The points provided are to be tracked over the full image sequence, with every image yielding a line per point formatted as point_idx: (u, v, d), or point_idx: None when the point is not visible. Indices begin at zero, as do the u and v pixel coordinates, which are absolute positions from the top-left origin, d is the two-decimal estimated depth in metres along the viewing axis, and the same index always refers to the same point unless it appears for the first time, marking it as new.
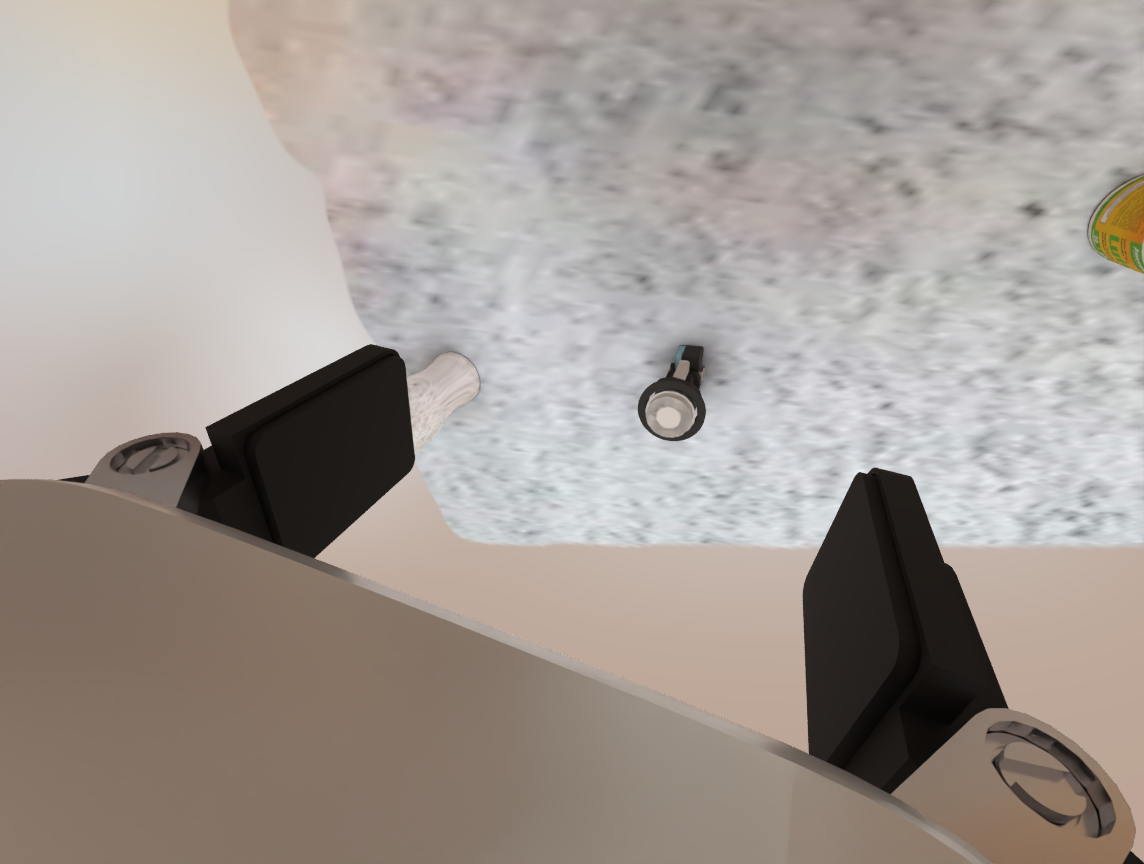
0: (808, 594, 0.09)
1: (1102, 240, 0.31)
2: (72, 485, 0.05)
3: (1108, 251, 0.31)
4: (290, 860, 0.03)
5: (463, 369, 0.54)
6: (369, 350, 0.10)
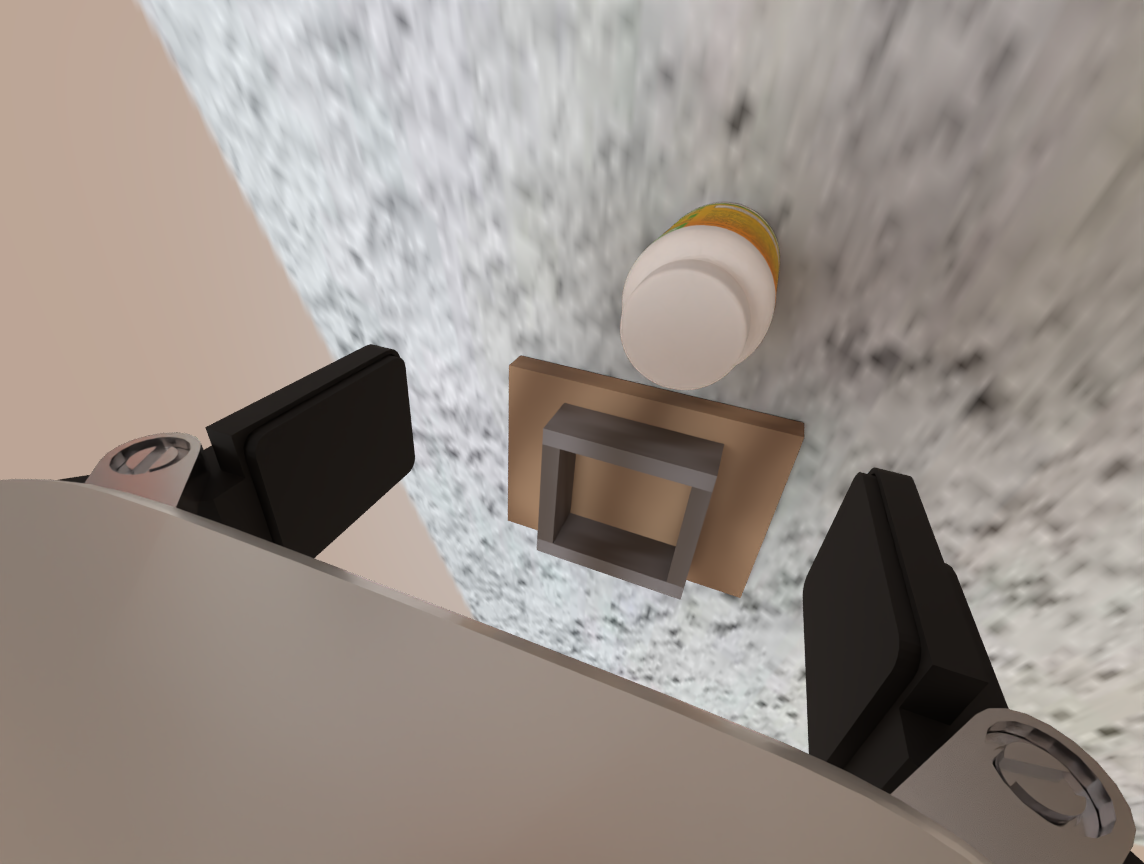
0: (808, 594, 0.09)
1: (689, 214, 0.21)
2: (71, 485, 0.05)
3: (673, 225, 0.21)
4: (289, 860, 0.03)
5: None
6: (369, 350, 0.10)
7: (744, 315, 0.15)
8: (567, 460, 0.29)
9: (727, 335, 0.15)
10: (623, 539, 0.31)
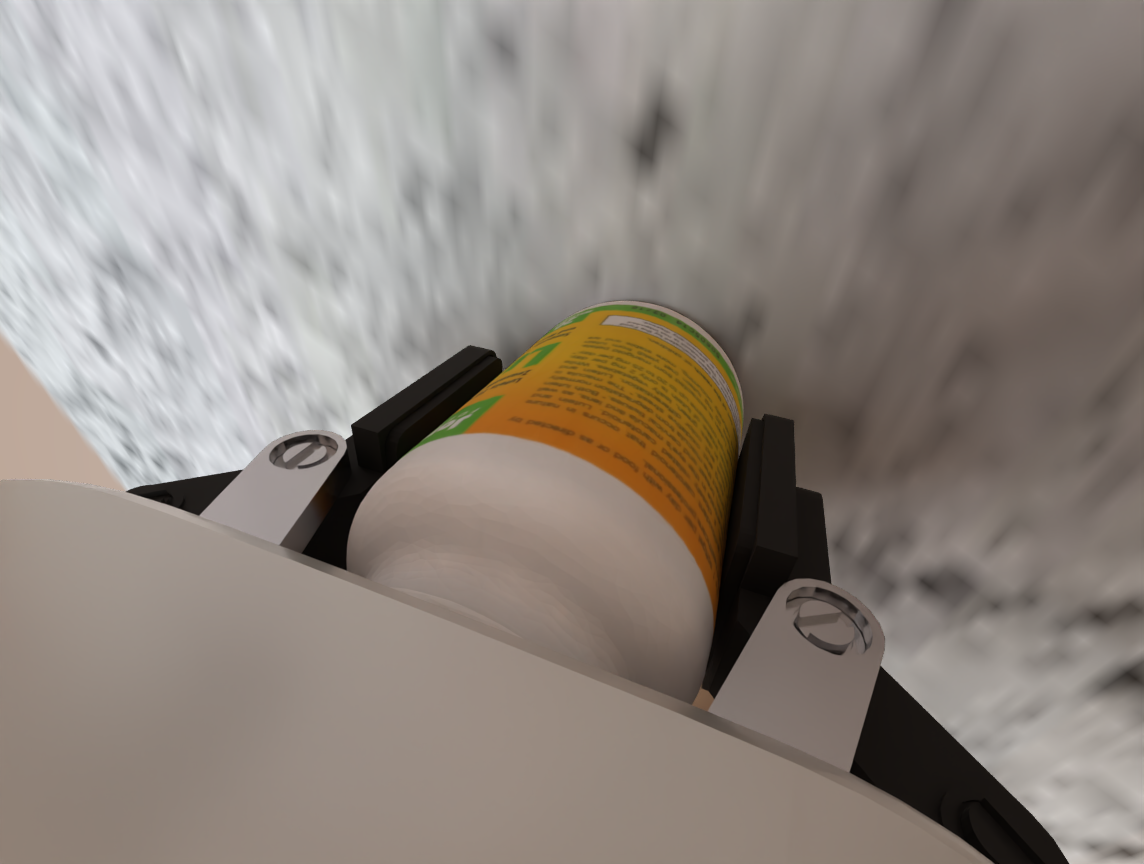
0: None
1: (553, 334, 0.10)
2: (71, 485, 0.05)
3: (520, 356, 0.10)
4: (289, 860, 0.03)
5: None
6: (471, 351, 0.11)
7: None
8: None
9: None
10: None
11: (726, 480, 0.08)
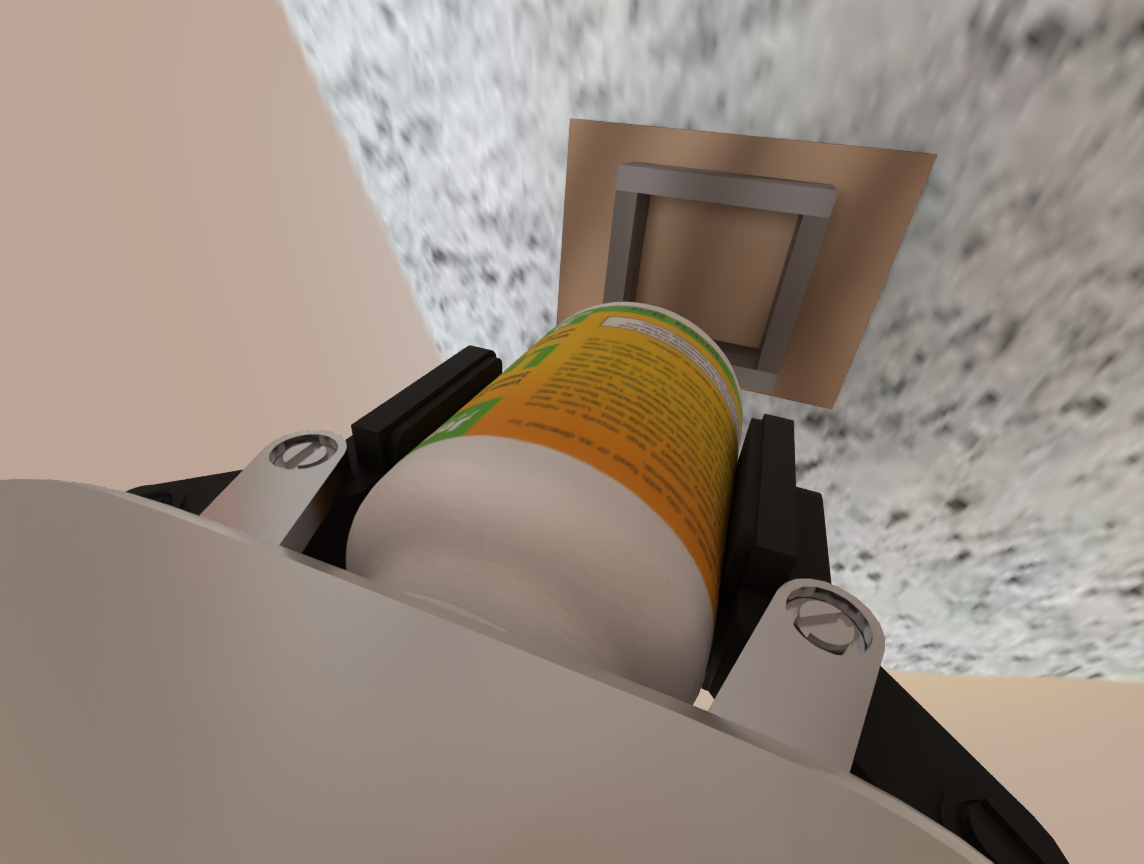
0: None
1: (552, 336, 0.10)
2: (72, 485, 0.05)
3: None
4: (289, 860, 0.03)
5: None
6: (471, 351, 0.11)
7: None
8: (639, 228, 0.24)
9: None
10: None
11: (725, 481, 0.08)
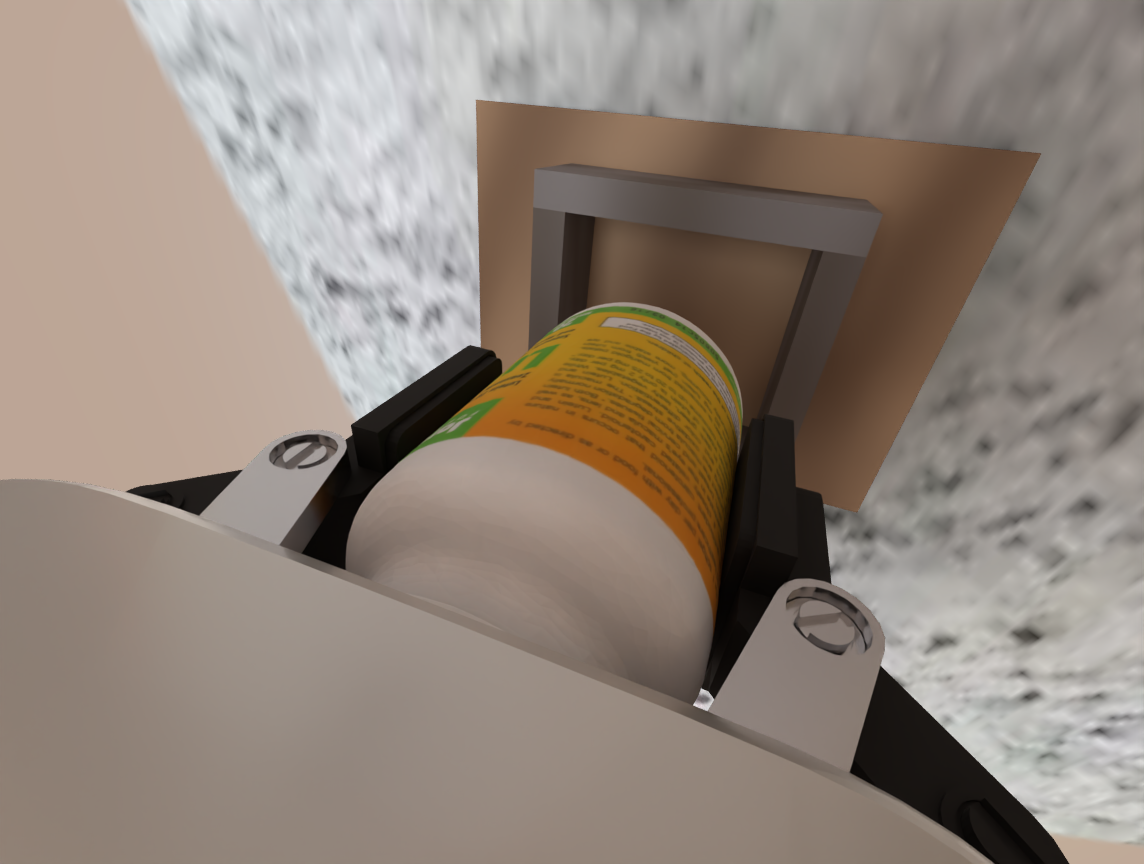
0: None
1: (552, 336, 0.10)
2: (72, 485, 0.05)
3: (519, 358, 0.10)
4: (290, 861, 0.03)
5: None
6: (472, 351, 0.11)
7: None
8: (577, 262, 0.17)
9: None
10: None
11: (725, 482, 0.08)
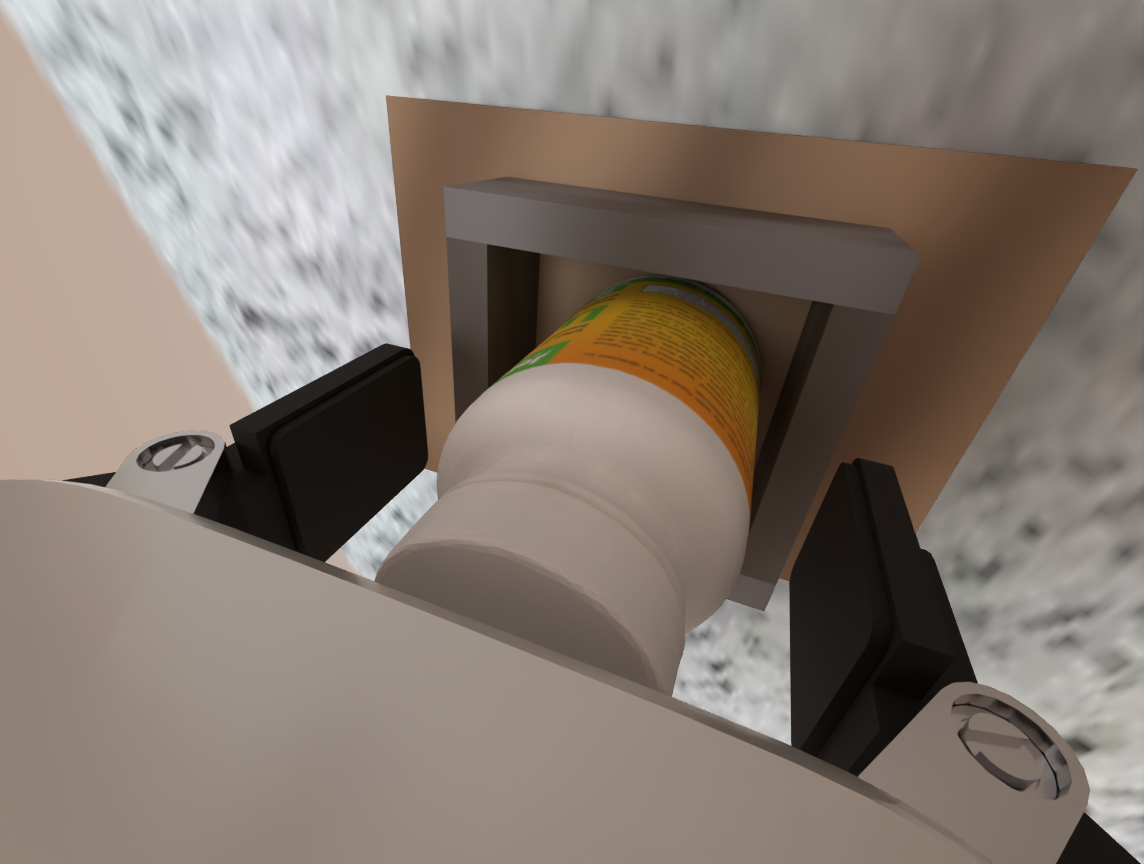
0: (794, 582, 0.10)
1: (597, 300, 0.11)
2: (72, 485, 0.05)
3: None
4: (290, 861, 0.03)
5: None
6: (385, 349, 0.10)
7: (658, 670, 0.05)
8: (514, 303, 0.13)
9: None
10: None
11: (753, 421, 0.10)
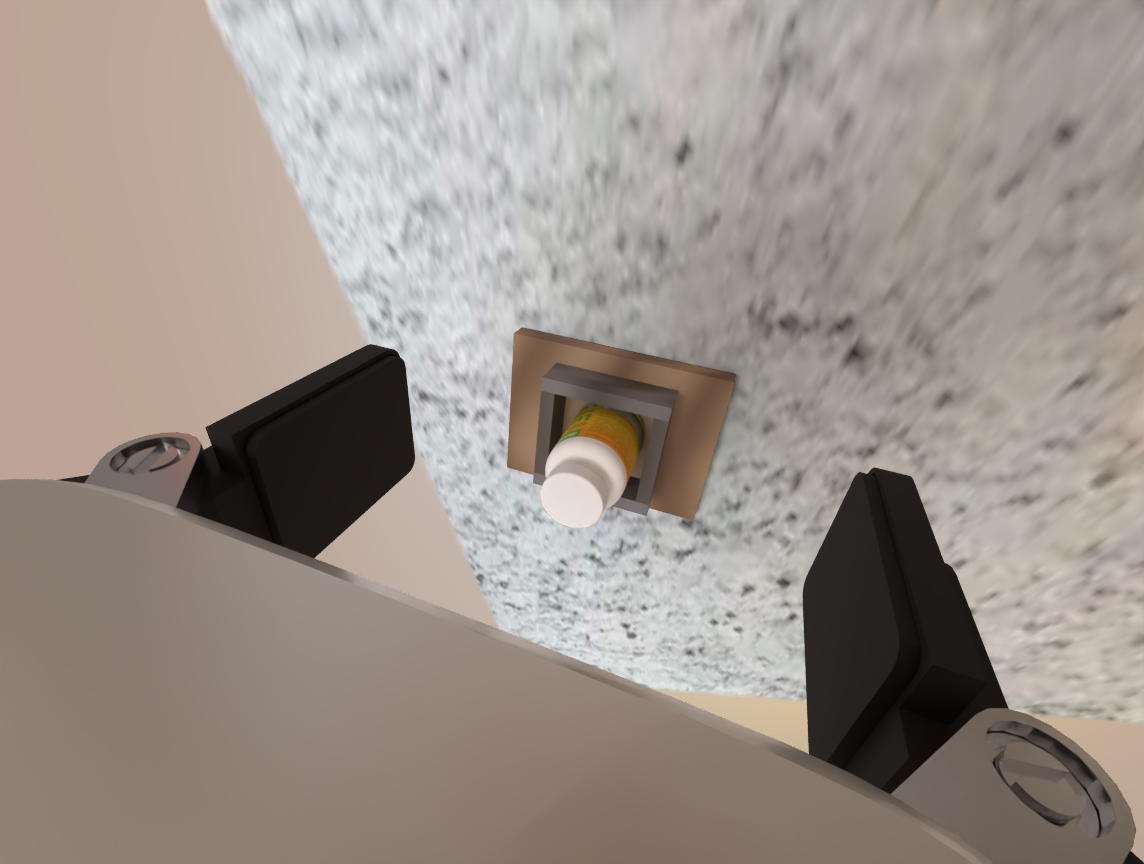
0: (808, 594, 0.09)
1: (588, 410, 0.35)
2: (72, 485, 0.05)
3: (579, 416, 0.35)
4: (289, 860, 0.03)
5: None
6: (369, 350, 0.10)
7: (601, 497, 0.29)
8: (559, 407, 0.37)
9: (593, 505, 0.29)
10: None
11: (633, 450, 0.34)
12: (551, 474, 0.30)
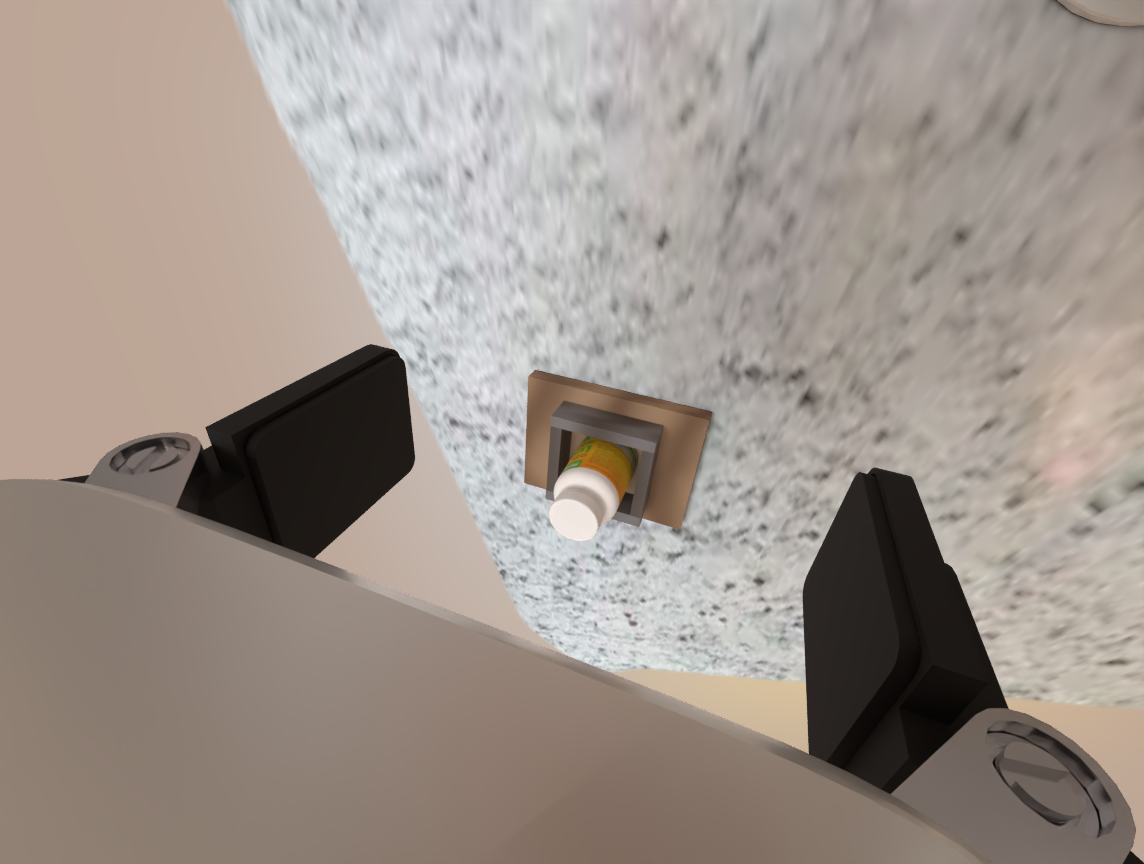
0: (808, 594, 0.09)
1: (589, 441, 0.43)
2: (72, 485, 0.05)
3: (582, 446, 0.43)
4: (289, 860, 0.03)
5: None
6: (369, 350, 0.10)
7: (596, 518, 0.37)
8: (566, 437, 0.44)
9: (590, 524, 0.37)
10: None
11: (625, 475, 0.41)
12: (557, 499, 0.38)
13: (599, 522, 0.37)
